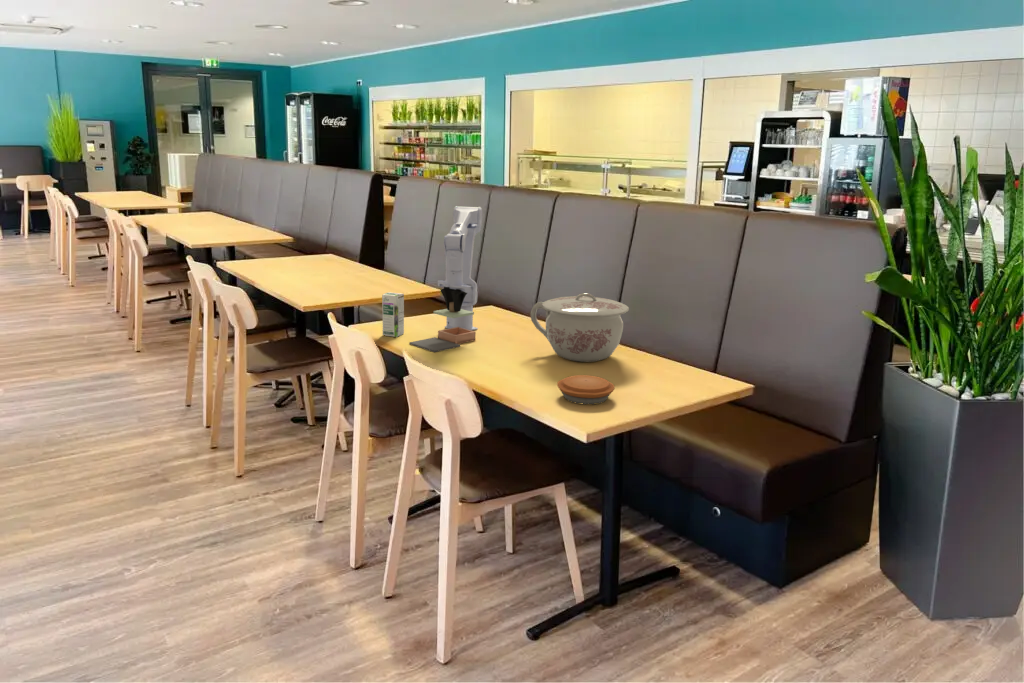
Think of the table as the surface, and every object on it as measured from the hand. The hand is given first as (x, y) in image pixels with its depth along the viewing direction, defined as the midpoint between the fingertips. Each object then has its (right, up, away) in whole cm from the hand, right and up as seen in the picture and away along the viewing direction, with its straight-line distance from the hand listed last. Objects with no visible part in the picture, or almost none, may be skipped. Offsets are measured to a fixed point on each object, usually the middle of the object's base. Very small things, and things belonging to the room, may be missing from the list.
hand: (453, 310), depth 261 cm
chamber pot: (+42, -15, -12) cm, 46 cm away
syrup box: (-22, -8, +8) cm, 25 cm away
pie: (+39, -26, -51) cm, 70 cm away
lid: (0, -1, 0) cm, 1 cm away
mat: (-6, -12, -4) cm, 14 cm away
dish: (+1, -10, +4) cm, 11 cm away
